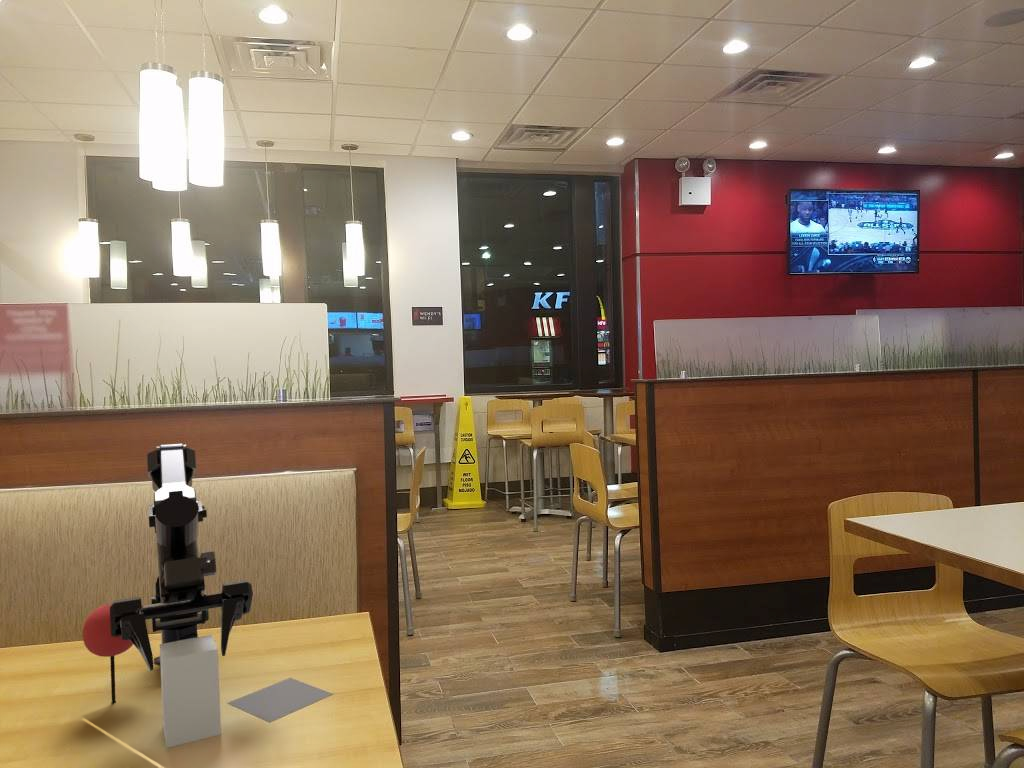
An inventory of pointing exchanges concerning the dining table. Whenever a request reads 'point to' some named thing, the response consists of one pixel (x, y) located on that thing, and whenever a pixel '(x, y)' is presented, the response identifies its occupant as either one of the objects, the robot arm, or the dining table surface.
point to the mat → (279, 699)
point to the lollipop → (103, 639)
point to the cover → (190, 690)
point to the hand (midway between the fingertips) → (188, 661)
